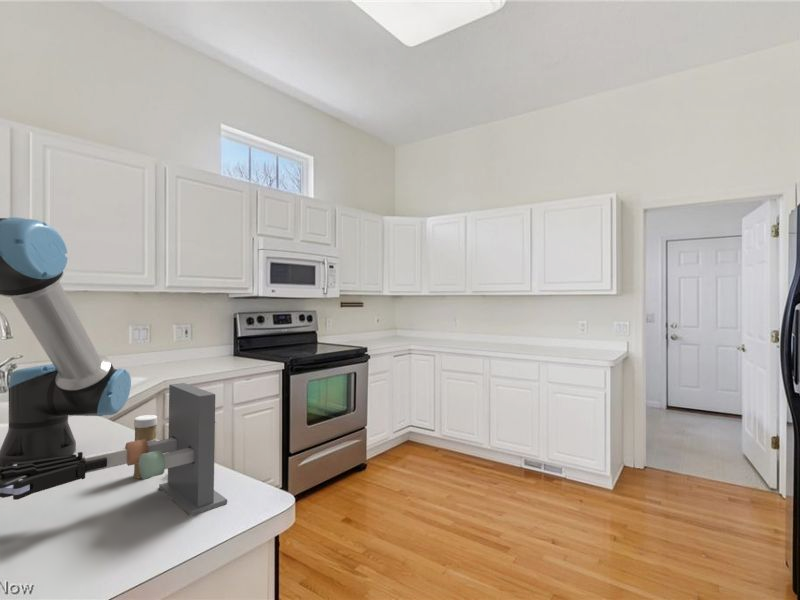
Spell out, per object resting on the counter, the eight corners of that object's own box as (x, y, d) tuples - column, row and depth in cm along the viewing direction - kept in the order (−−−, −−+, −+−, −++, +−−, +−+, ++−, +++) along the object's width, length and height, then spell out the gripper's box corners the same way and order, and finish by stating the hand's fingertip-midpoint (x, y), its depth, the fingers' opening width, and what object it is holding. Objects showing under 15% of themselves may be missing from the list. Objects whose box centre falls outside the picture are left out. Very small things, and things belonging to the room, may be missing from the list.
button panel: (159, 488, 92) (160, 385, 92) (193, 478, 97) (194, 381, 97) (190, 515, 80) (192, 398, 80) (227, 503, 85) (229, 392, 86)
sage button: (138, 475, 79) (139, 451, 79) (202, 459, 88) (202, 437, 88) (146, 482, 76) (146, 457, 76) (211, 464, 85) (212, 442, 85)
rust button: (124, 462, 86) (125, 440, 86) (185, 448, 94) (185, 428, 94) (131, 468, 83) (131, 445, 83) (193, 453, 91) (194, 432, 91)
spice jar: (139, 471, 100) (140, 414, 101) (159, 471, 101) (160, 414, 101) (129, 479, 96) (130, 419, 96) (150, 479, 96) (151, 419, 96)
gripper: (-52, 504, 71) (115, 466, 88) (-52, 534, 62) (135, 485, 79) (-51, 458, 71) (116, 429, 88) (-51, 482, 62) (135, 444, 79)
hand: (125, 455), depth 83 cm, fingers closed
